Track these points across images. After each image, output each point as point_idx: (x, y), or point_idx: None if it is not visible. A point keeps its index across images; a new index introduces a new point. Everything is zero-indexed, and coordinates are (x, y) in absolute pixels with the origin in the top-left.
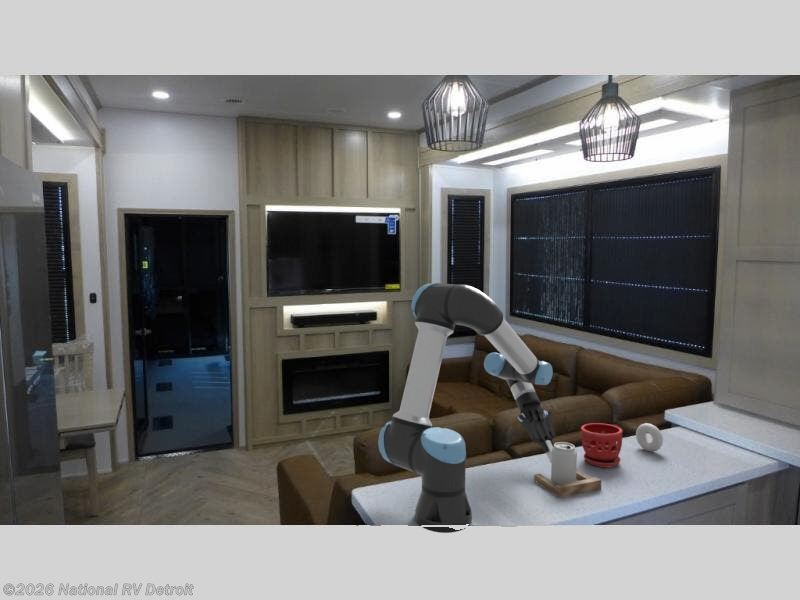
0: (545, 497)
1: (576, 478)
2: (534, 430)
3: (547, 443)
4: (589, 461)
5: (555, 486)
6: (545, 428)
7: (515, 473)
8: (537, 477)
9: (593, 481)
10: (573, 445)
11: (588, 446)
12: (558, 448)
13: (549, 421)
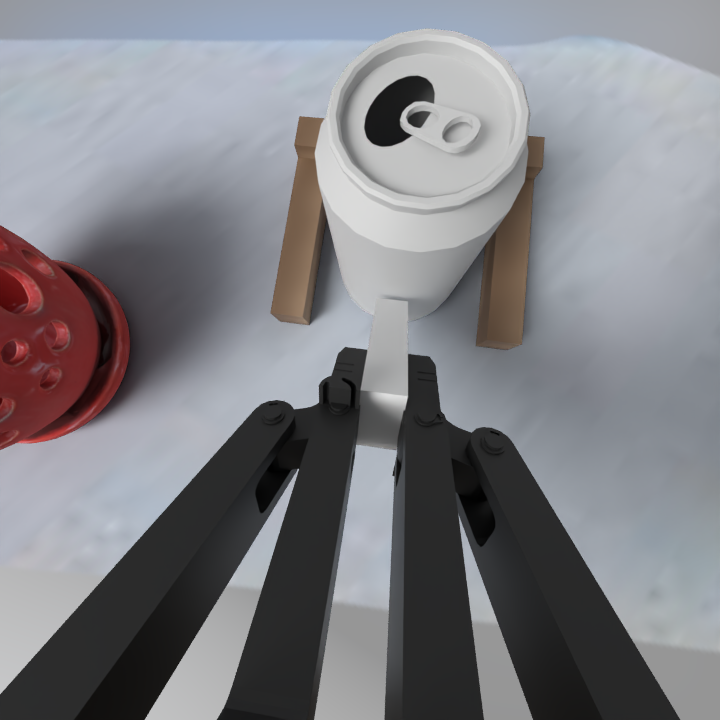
0: (571, 202)
1: (316, 271)
2: (521, 550)
3: (406, 374)
4: (127, 349)
5: (539, 170)
6: (314, 525)
7: (539, 464)
8: (521, 318)
9: None
10: (345, 79)
11: None
12: (525, 94)
13: (122, 636)
